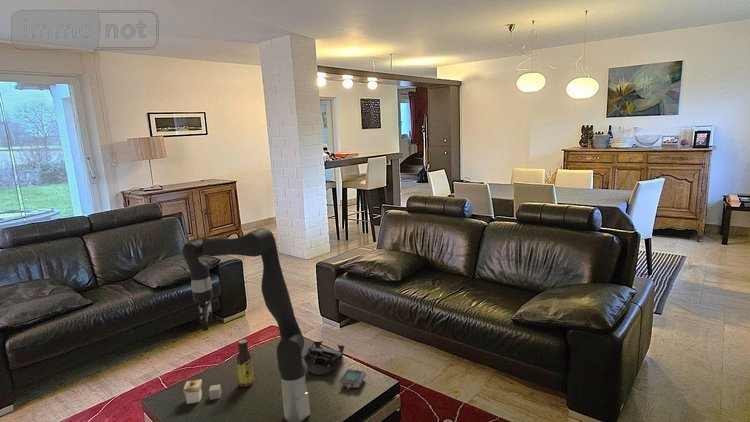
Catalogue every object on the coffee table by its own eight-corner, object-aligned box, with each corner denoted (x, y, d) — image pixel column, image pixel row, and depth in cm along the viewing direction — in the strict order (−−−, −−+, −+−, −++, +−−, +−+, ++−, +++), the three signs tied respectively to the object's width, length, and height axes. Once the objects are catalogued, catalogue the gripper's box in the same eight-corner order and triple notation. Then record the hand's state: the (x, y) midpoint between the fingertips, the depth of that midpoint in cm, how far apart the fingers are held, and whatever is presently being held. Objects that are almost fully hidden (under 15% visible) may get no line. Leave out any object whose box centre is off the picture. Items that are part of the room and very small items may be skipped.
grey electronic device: (366, 371, 187) (358, 385, 177) (366, 377, 187) (358, 391, 177) (346, 368, 189) (337, 382, 179) (346, 374, 190) (337, 388, 180)
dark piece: (348, 356, 208) (347, 339, 206) (333, 378, 189) (331, 359, 188) (314, 353, 213) (313, 336, 212) (296, 374, 194) (295, 355, 193)
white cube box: (201, 395, 180) (200, 384, 180) (199, 402, 176) (198, 390, 175) (189, 397, 179) (188, 386, 179) (186, 404, 175) (185, 392, 174)
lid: (202, 383, 180) (201, 377, 180) (199, 391, 174) (198, 385, 174) (187, 385, 179) (186, 380, 179) (183, 393, 173) (183, 387, 173)
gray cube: (221, 392, 181) (220, 384, 181) (219, 398, 178) (218, 389, 177) (211, 394, 181) (210, 385, 180) (209, 399, 177) (208, 390, 176)
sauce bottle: (249, 388, 184) (245, 345, 181) (236, 387, 185) (231, 344, 182) (256, 380, 190) (252, 338, 187) (243, 379, 191) (239, 338, 188)
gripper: (196, 284, 178) (201, 320, 180) (188, 295, 164) (194, 334, 166) (214, 282, 179) (219, 318, 182) (208, 292, 165) (214, 331, 168)
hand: (207, 326), depth 174 cm, fingers open, 8 cm apart
